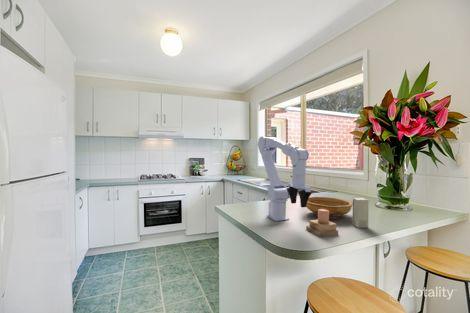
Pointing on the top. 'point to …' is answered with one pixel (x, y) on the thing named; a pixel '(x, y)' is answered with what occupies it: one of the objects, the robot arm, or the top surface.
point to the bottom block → (321, 234)
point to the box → (360, 212)
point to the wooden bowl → (329, 206)
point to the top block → (322, 226)
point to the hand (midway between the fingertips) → (298, 205)
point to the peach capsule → (323, 216)
